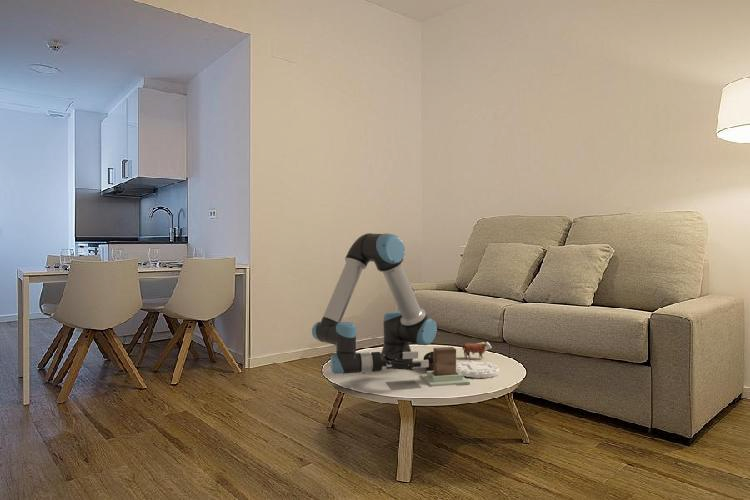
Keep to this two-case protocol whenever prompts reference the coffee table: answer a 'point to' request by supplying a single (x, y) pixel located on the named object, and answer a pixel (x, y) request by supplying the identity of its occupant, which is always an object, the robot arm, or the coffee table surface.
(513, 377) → the coffee table surface
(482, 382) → the coffee table surface
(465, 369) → the white textured flat disc
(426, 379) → the tray
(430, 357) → the decorative turtle
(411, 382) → the mat
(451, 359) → the brown wooden block
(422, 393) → the coffee table surface
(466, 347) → the bull figurine
